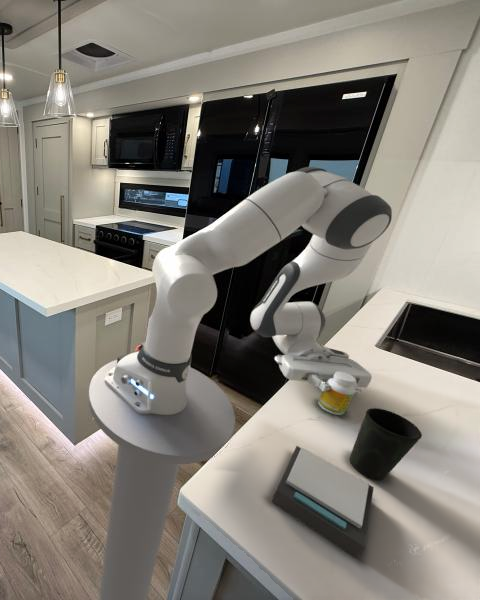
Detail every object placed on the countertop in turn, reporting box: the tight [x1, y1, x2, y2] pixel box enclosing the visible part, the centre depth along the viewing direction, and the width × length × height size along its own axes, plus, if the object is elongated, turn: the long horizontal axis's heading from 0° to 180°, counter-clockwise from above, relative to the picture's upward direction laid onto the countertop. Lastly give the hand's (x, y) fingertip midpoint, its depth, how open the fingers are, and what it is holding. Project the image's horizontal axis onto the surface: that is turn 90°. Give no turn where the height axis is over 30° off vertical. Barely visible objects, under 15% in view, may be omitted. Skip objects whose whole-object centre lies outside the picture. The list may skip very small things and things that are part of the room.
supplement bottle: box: [317, 371, 356, 416], centre depth 76 cm, size 5×5×10 cm
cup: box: [348, 407, 423, 481], centre depth 60 cm, size 8×8×12 cm
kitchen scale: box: [270, 445, 374, 559], centre depth 55 cm, size 12×14×4 cm
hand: (342, 391), depth 75 cm, fingers closed on supplement bottle, 5 cm apart
